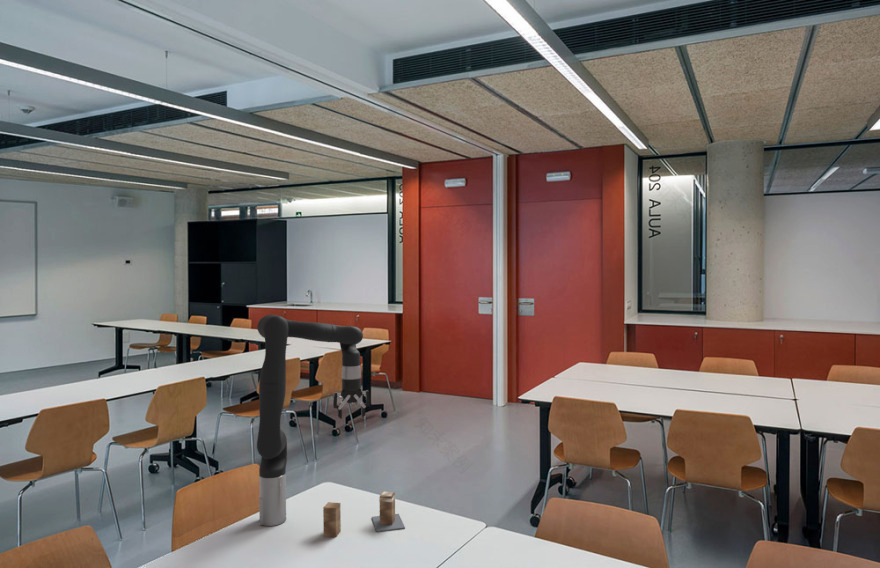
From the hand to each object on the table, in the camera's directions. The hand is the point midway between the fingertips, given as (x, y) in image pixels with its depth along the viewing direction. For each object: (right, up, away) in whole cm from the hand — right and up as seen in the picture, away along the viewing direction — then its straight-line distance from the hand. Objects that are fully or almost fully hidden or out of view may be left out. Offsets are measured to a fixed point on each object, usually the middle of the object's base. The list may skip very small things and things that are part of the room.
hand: (351, 417), depth 228 cm
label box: (+16, -33, -20) cm, 42 cm away
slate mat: (+16, -33, -20) cm, 42 cm away
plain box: (-2, -34, -28) cm, 44 cm away
